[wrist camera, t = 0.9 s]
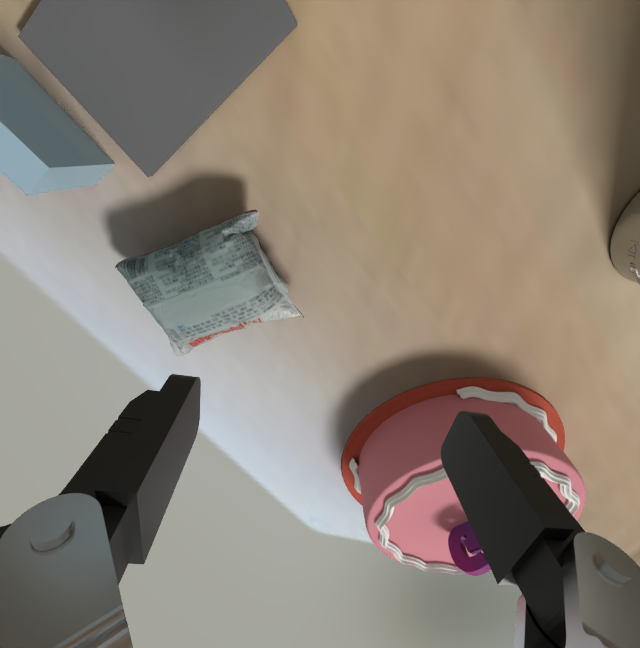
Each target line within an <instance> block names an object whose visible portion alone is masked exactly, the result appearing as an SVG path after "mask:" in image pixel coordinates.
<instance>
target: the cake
mask: <svg viewBox="0 0 640 648" xmlns="http://www.w3.org/2000/svg"><path fill="white" fill-rule="evenodd" d="M461 411H469V412H477V413H485V414H487V415H489V416H490V417H491V418H492V420H493V421H494V422H495V424H496V425H497V426H498V428H499V429H500V430H501V432H503V433H504V434H505V435H506V436H508V437H509V438H510V439H511V440H512V441H513V442H515V443H516V444H517V445H518V446H519V447H520V448H521V450H522V451H523V452H524V453H525V455H526V456H527V457H528V459H529V460H530V461H531V465H534V466H535V468H536V469H537V470H538V471H539V473H540V474H541V478H544V479H545V481H546V482H547V483H548V484H549V486H550V487H551V488H552V490H553V491H554V492H555V493H556V495H557V496H558V497H559V499H560V500H561V501H562V503H563V504H564V505H565V506H566V508H567V509H568V510H569V512H570V513H571V514H572V515H573V517H574V518H575V519H576V521H577V519H578V518H579V516H580V514H581V512H582V510H583V508H584V504H585V499H586V490H585V485H584V482H583V480H582V478H581V476H580V474H579V472H578V471H577V469H576V468H575V466H574V465H573V464H572V462H571V461H570V460H569V458H568V457H567V456H566V455H565V453H564V452H563V450H564V444H565V433H564V427H563V424H562V421H561V419H560V417H559V415H558V414H557V412H556V410H555V409H554V408H553V406H552V405H551V404H550V403H549V402H548V401H547V400H546V399H544V398H543V397H542V396H540V395H539V394H538V393H536V392H534V391H532V390H530V389H528V388H526V387H524V386H521V385H518V384H515V383H512V382H508V381H504V380H498V379H491V378H458V379H450V380H444V381H438V382H434V383H430V384H426V385H423V386H420V387H417V388H414V389H411V390H409V391H406V392H404V393H402V394H400V395H398V396H396V397H394V398H392V399H390V400H388V401H387V402H385V403H383V404H382V405H380V406H379V407H377V408H376V409H375V410H373V411H372V412H371V413H370V414H369V415H367V416H366V417H365V418H364V419H363V420H362V421H361V422H360V423H359V425H358V426H357V427H356V428H355V429H354V431H353V432H352V434H351V435H350V437H349V439H348V441H347V443H346V445H345V448H344V451H343V455H342V462H341V468H342V475H343V478H344V482H345V484H346V486H347V488H348V490H349V492H350V493H351V494H352V496H353V497H354V498H355V499H356V500H357V501H358V502H359V503H360V504H361V505H362V506H363V511H364V518H365V523H366V528H367V531H368V534H369V536H370V538H371V540H372V541H373V543H374V544H375V545H376V546H377V547H378V548H379V549H380V550H381V551H382V552H383V553H384V554H386V555H387V556H389V557H391V558H392V559H394V560H396V561H398V562H401V563H403V564H406V565H409V566H413V567H418V568H420V569H421V570H423V571H425V572H444V573H450V574H455V575H459V574H464V573H467V574H469V575H473V576H477V575H481V574H484V573H486V572H490V571H492V570H491V568H490V566H489V564H488V562H487V559H486V557H485V555H484V553H483V551H482V549H481V547H480V544H479V542H478V540H477V538H476V536H475V534H474V532H473V529H472V527H471V525H470V523H469V521H468V519H467V516H466V514H465V512H464V510H463V508H462V506H461V504H460V501H459V499H458V497H457V495H456V493H455V491H454V489H453V486H452V484H451V482H450V480H449V478H448V476H447V474H446V471H445V469H444V467H443V465H442V461H441V447H442V444H443V442H444V440H445V438H446V436H447V434H448V432H449V430H450V428H451V426H452V424H453V422H454V420H455V418H456V416H457V414H458V413H459V412H461Z"/></svg>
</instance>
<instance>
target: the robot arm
mask: <svg viewBox="0 0 640 648" xmlns="http://www.w3.org/2000/svg"><path fill="white" fill-rule="evenodd" d="M610 252H611V259H612V262H613V264H614V266H615V269H616V270H617V271H618V272H619V273H620V274H621V275H622V276H623V277H625V278H627V279H629V280H631V281H633V282H636V283H638V284H640V192H639V193H638V194H637V195H636V196H635V197H634V198H633V199H632V201H631V202H630V203H629V205H628V206H627V207H626V209H625V210H624V211H623V213H622V215H621V217H620V219H619V221H618V222H617V224H616V227H615V230H614V233H613V236H612V239H611V248H610ZM200 385H201V383H200V378H199V377H192V376H184V375H175V374H172V375H170V376H169V378H168V379H167V381H166V382H165V384H164V385H163V387H162V388H161V390H160V391H152V390H147V391H145V392H144V393H142V394H141V395H139V396H138V397H137V398H135V399H134V400H132V401H130V402H129V404H128V405H127V406H126V408H125V409H124V410H123V412H122V413H121V414H120V416H119V417H118V420H116V421H115V422H114V424H113V425H112V426H111V428H110V429H109V431H108V433H107V434H105V435H104V437H103V438H102V440H101V441H100V442H99V444H98V445H97V446H96V448H95V449H94V450H93V451H92V453H91V454H90V456H89V457H88V458H87V459H86V461H85V462H84V463H83V465H82V466H81V467H80V469H79V470H78V471H77V473H76V474H75V475H74V477H73V478H72V479H71V481H70V482H69V483H68V484H67V486H66V487H65V488H64V490H63V491H62V492H61V493H60V494H59V495H58V496H56V497H53V498H50V499H47V500H46V501H43V502H41V503H39V504H37V505H35V506H33V507H32V508H30V509H29V510H27V511H26V512H24V513H23V514H22V515H21V516H20V517H18V518H17V519H16V520H15V521H14V522H13V523H12V524H9V525H6V526H2V527H0V648H133V646H132V641H131V637H130V633H129V628H128V624H127V621H126V618H125V613H124V609H123V604H122V601H121V595H120V591H119V586H118V585H119V583H120V580H121V578H122V576H123V574H124V572H125V569H126V567H127V565H128V563H132V564H144V563H145V560H146V558H147V555H148V553H149V550H150V548H151V546H152V543H153V541H154V538H155V536H156V533H157V531H158V529H159V526H160V524H161V521H162V519H163V516H164V514H165V511H166V509H167V506H168V504H169V502H170V499H171V497H172V494H173V492H174V489H175V487H176V484H177V482H178V480H179V477H180V474H181V472H182V470H183V467H184V465H185V462H186V460H187V457H188V455H189V453H190V450H191V448H192V445H193V443H194V440H195V438H196V434H197V431H198V426H199V419H200ZM441 461H442V465H443V467H444V469H445V471H446V474H447V476H448V478H449V480H450V482H451V484H452V486H453V489H454V491H455V493H456V495H457V497H458V499H459V501H460V504H461V506H462V508H463V510H464V512H465V514H466V516H467V519H468V521H469V523H470V525H471V527H472V529H473V532H474V534H475V536H476V538H477V540H478V542H479V544H480V547H481V549H482V551H483V553H484V555H485V557H486V559H487V562H488V564H489V566H490V568H491V570H492V572H493V574H494V577H495V579H496V581H497V583H498V585H516V586H519V588H520V590H521V592H522V595H521V596H520V598H519V599H518V602H517V611H516V613H517V614H516V627H515V642H514V648H640V567H639V566H638V565H637V564H636V563H635V561H634V560H633V559H632V558H630V557H629V556H628V555H627V554H626V553H625V552H624V551H622V550H621V549H620V548H619V547H617V546H616V545H614V544H613V543H611V542H610V541H608V540H607V539H605V538H603V537H601V536H598V535H596V534H593V533H589V532H585V531H584V530H583V528H582V527H581V526H580V524H579V523H578V522H577V521H576V519H575V518H574V517H573V515H572V514H571V513H570V512H569V510H568V509H567V508H566V506H565V505H564V504H563V503H562V501H561V500H560V499H559V497H558V496H557V495H556V493H555V492H554V491H553V490H552V488H551V487H550V486H549V484H548V483H547V482H546V481H545V479H544V478H541V474H540V473H539V471H538V470H537V469H536V468H535V466H534V465H531V461H530V460H529V459H528V457H527V456H526V455H525V453H524V452H523V451H522V450H521V448H520V447H519V446H518V445H517V444H516V443H515V442H513V441H512V440H511V439H510V438H509V437H508V436H506V435H505V434H504V433H503V432H501V430H500V429H499V428H498V426H497V425H496V424H495V422H494V421H493V420H492V418H491V417H490V416H489V415H487V414H485V413H477V412H469V411H461V412H459V413H458V414H457V416H456V418H455V420H454V422H453V424H452V426H451V428H450V430H449V432H448V434H447V436H446V438H445V440H444V442H443V444H442V447H441Z"/></svg>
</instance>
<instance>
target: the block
mask: <svg viewBox="0 0 640 648" xmlns="http://www.w3.org/2000/svg"><path fill="white" fill-rule="evenodd" d="M114 165H115V163H114V162H113V161H112V160H111V159H110V158H109V157H108V156H107V155H106V153H105V152H104V151H103V150H102V149H101V148H100V147H99V146H98V145H97V144H96V143H95V142H94V141H93V140H92V139H91V138H90V137H89V136H88V135H87V134H86V132H85V131H84V130H83V129H82V128H81V127H80V126H79V125H78V124H77V123H76V122H75V121H74V120H73V119H72V118H71V117H70V116H69V115H68V114H67V113H66V112H65V110H64V109H63V108H62V107H61V106H60V105H59V104H58V103H57V102H56V101H55V100H54V99H53V98H52V97H51V96H50V95H49V94H48V93H47V92H46V91H45V89H44V88H43V87H42V86H41V85H40V84H39V83H38V82H37V81H36V80H35V79H34V78H33V77H32V76H31V75H30V74H29V73H28V72H27V71H26V70H25V68H24V67H23V66H22V65H21V64H20V63H19V62H18V61H17V60H16V59H15V58H12V57H8V56H5V55H2V54H0V172H1V173H2V174H3V175H4V176H6V177H7V178H8V179H9V180H10V181H11V182H12V183H13V184H15V185H16V186H17V187H18V188H19V189H20V190H21V191H22V192H24V193H25V194H26V195H33V194H40V193H47V192H53V191H60V190H66V189H73V188H80V187H86V186H93V185H97V184H98V183H99V182H100V180H101V179H102V178H103V177H104V176H105V175H106V174H107V173H108V172H109V170H110V169H111V168H112V167H113V166H114Z"/></svg>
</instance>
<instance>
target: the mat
mask: <svg viewBox="0 0 640 648" xmlns="http://www.w3.org/2000/svg"><path fill="white" fill-rule="evenodd" d="M296 26H297V21H296V19H295V17H294V15H293V14H292V12H291V10H290V9H289V7H288V5H287V4H286V2H285V0H41V1H40V3H39V5H38V6H37V8H36V9H35V11H34V12H33V14H32V15H31V17H30V18H29V20H28V22H27V23H26V25H25V26H24V28H23V29H22V31H21V32H20V34H19V35H18V37H19V38H20V39H21V40H22V41H23V42H24V44H25V45H26V46H27V47H28V48H29V49H30V50H31V51H32V52H33V53H34V54H35V55H36V57H37V58H38V59H39V60H40V61H41V62H42V63H43V64H44V65H45V66H46V67H47V68H48V70H49V71H50V72H51V73H52V74H53V75H54V76H55V77H56V78H57V79H58V80H59V81H60V82H61V84H62V85H63V86H64V87H65V88H66V89H67V90H68V91H69V92H70V93H71V94H72V95H73V97H74V98H75V99H76V100H77V101H78V102H79V103H80V104H81V105H82V106H83V107H84V108H85V109H86V111H87V112H88V113H89V114H90V115H91V116H92V117H93V118H94V119H95V120H96V121H97V122H98V124H99V125H100V126H101V127H102V128H103V129H104V130H105V131H106V132H107V133H108V134H109V135H110V137H111V138H112V139H113V140H114V141H115V142H116V143H117V144H118V145H119V146H120V147H121V148H122V149H123V151H124V152H125V153H126V154H127V155H128V156H129V157H130V158H131V159H132V160H133V161H134V162H135V164H136V165H137V166H138V167H139V168H140V169H141V170H142V171H143V172H144V173H145V174H146V175H147V177H149V176H152V175H153V174H154V173H155V172H156V171H157V170H158V169H159V168H160V167H161V166H162V165H163V164H164V163H165V162H166V161H167V160H168V159H169V158H170V157H171V156H172V155H173V154H174V153H175V152H176V151H177V150H178V148H179V147H180V146H181V145H182V144H183V143H184V142H185V141H186V140H187V139H188V138H189V137H190V136H191V135H192V134H193V133H194V132H195V131H196V130H197V129H198V128H199V127H200V126H201V125H202V124H203V123H204V121H205V120H206V119H207V118H208V117H209V116H210V115H211V114H212V113H213V112H214V111H215V110H216V109H217V108H218V107H219V106H220V105H221V104H222V103H223V102H224V101H225V100H226V99H227V98H228V97H229V96H230V95H231V93H232V92H233V91H234V90H235V89H236V88H237V87H238V86H239V85H240V84H241V83H242V82H243V81H244V80H245V79H246V78H247V77H248V76H249V75H250V74H251V73H252V72H253V71H254V70H255V69H256V68H257V67H258V65H259V64H260V63H261V62H262V61H263V60H264V59H265V58H266V57H267V56H268V55H269V54H270V53H271V52H272V51H273V50H274V49H275V48H276V47H277V46H278V45H279V44H280V43H281V42H282V41H283V40H284V38H285V37H286V36H287V35H288V34H289V33H290V32H291V31H292V30H293V29H294V28H295V27H296Z"/></svg>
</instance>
